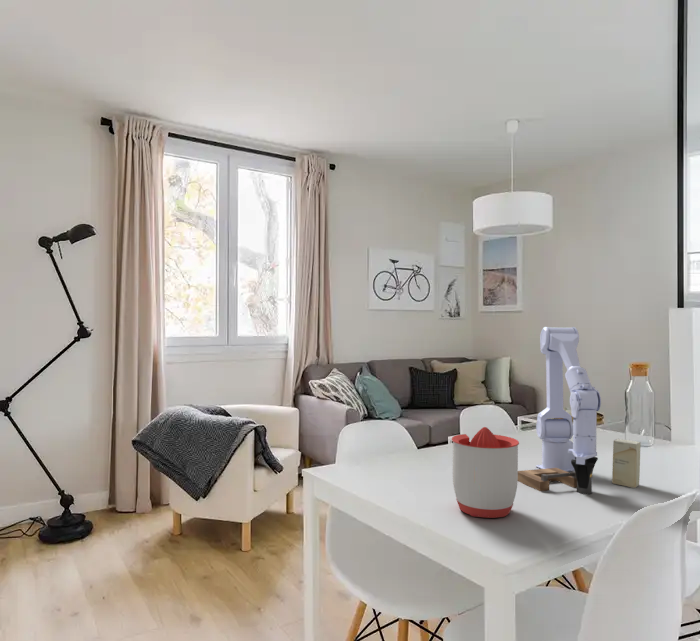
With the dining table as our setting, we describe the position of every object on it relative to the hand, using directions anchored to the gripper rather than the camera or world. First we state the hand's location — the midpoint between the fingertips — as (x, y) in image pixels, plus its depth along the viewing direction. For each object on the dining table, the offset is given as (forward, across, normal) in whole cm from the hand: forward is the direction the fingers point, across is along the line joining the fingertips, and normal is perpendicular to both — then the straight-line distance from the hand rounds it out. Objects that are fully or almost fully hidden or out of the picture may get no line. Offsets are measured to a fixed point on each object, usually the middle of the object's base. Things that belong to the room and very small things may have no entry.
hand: (584, 485), depth 147 cm
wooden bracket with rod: (+2, -3, -10) cm, 10 cm away
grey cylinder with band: (+2, 0, 0) cm, 2 cm away
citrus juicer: (+2, +28, -18) cm, 34 cm away
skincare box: (+2, -14, +9) cm, 17 cm away
